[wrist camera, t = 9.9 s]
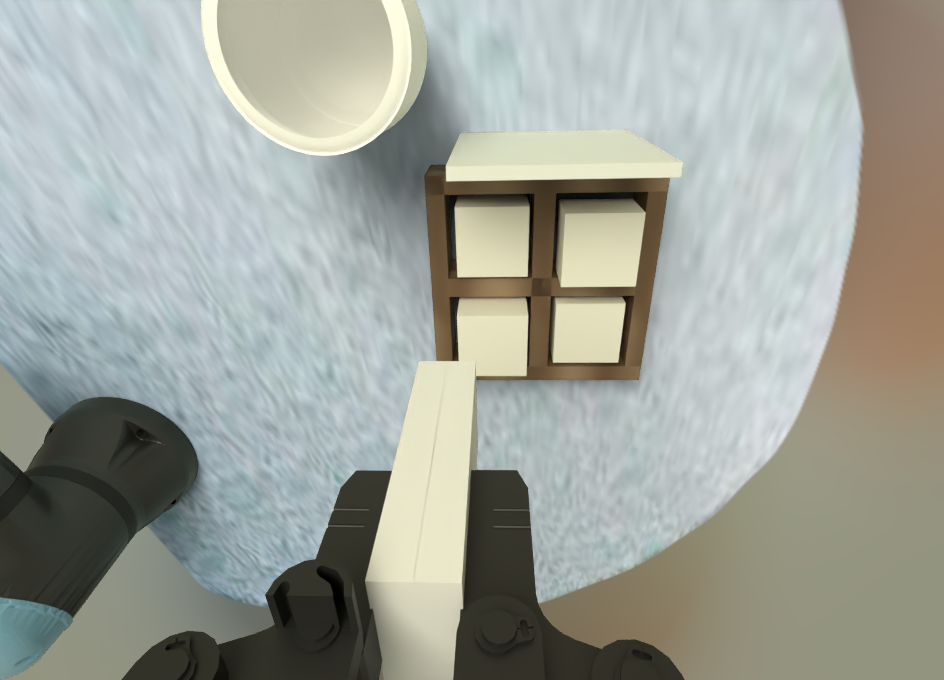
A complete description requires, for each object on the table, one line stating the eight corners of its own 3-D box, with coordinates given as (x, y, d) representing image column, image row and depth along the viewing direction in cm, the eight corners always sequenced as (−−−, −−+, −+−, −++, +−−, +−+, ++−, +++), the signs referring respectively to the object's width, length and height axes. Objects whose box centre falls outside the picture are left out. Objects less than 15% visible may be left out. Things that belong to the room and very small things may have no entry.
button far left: (462, 352, 47) (459, 376, 44) (459, 295, 45) (456, 316, 41) (524, 352, 47) (526, 376, 44) (525, 295, 44) (528, 315, 41)
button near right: (555, 268, 43) (560, 287, 40) (559, 199, 40) (565, 213, 37) (624, 267, 43) (635, 286, 39) (632, 198, 40) (645, 212, 37)
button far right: (548, 340, 49) (552, 362, 45) (551, 284, 46) (556, 304, 43) (609, 340, 49) (618, 362, 45) (615, 284, 46) (625, 303, 42)
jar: (465, 78, 39) (451, 90, 26) (355, 148, 42) (292, 191, 29) (387, -75, 35) (323, -152, 22) (270, 14, 38) (151, -6, 25)
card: (460, 146, 42) (446, 184, 30) (460, 133, 41) (445, 166, 29) (625, 142, 41) (680, 181, 29) (626, 129, 41) (683, 162, 28)
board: (442, 355, 51) (437, 379, 47) (430, 164, 43) (424, 176, 39) (627, 354, 50) (638, 379, 47) (654, 160, 42) (670, 171, 38)
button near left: (460, 259, 45) (457, 277, 42) (457, 194, 43) (454, 207, 39) (525, 259, 45) (527, 276, 42) (526, 193, 42) (529, 206, 39)
